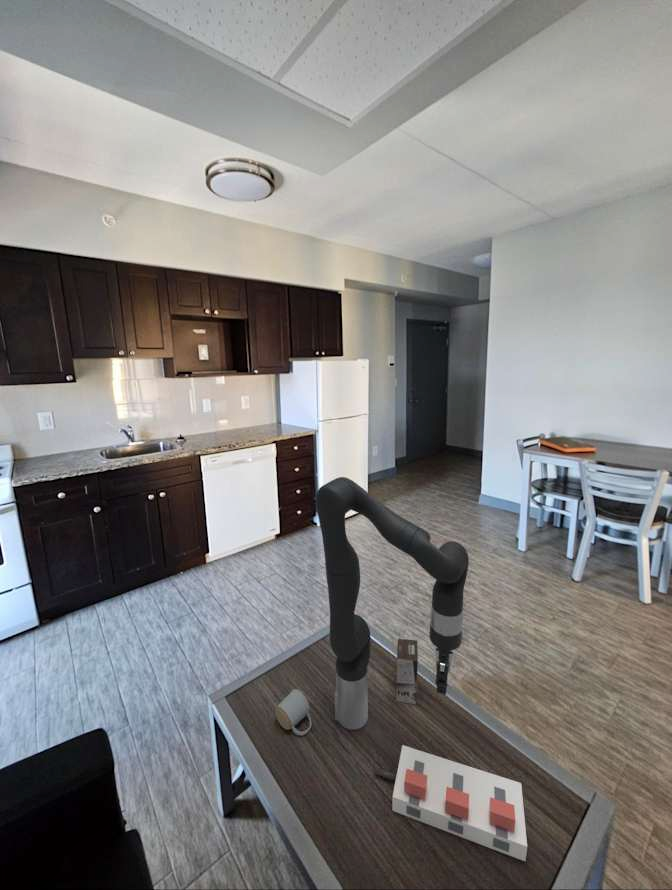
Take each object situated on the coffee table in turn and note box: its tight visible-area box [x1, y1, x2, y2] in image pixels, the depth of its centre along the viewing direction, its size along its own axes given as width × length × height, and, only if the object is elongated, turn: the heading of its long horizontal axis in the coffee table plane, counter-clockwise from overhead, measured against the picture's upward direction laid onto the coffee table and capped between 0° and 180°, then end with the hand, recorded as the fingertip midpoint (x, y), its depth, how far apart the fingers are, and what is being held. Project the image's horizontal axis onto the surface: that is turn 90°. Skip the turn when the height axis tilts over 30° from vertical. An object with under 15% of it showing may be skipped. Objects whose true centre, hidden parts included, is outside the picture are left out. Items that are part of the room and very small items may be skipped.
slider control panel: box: [373, 744, 528, 862], centre depth 94 cm, size 35×13×5 cm, turn 70°
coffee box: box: [396, 638, 419, 705], centre depth 123 cm, size 9×6×16 cm
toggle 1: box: [404, 769, 427, 800], centre depth 92 cm, size 5×3×4 cm, turn 70°
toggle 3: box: [489, 797, 515, 832], centre depth 85 cm, size 5×3×4 cm, turn 70°
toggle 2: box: [445, 787, 469, 820], centre depth 88 cm, size 5×3×4 cm, turn 70°
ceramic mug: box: [274, 688, 312, 736], centre depth 114 cm, size 11×8×8 cm
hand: (442, 678), depth 96 cm, fingers open, 8 cm apart
